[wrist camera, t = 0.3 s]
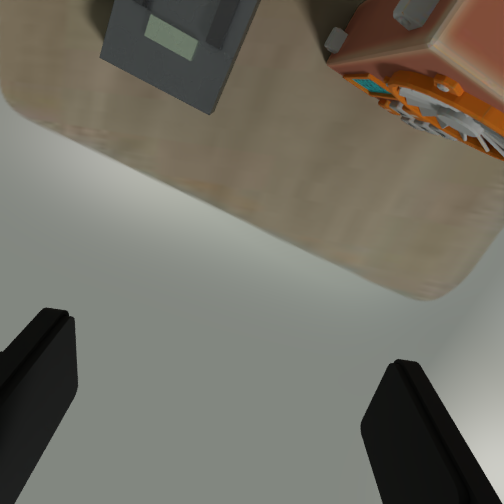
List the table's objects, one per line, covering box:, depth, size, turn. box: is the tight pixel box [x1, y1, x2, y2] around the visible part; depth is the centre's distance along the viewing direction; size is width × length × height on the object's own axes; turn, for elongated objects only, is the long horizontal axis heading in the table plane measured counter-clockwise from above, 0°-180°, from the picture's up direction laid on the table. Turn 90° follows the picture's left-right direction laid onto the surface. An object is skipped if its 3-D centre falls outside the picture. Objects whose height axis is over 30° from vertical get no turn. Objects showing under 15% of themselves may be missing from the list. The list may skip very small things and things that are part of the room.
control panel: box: [324, 0, 504, 161], centre depth 23 cm, size 21×7×15 cm
